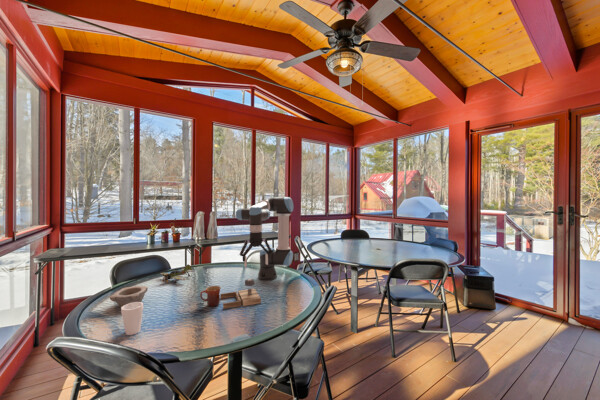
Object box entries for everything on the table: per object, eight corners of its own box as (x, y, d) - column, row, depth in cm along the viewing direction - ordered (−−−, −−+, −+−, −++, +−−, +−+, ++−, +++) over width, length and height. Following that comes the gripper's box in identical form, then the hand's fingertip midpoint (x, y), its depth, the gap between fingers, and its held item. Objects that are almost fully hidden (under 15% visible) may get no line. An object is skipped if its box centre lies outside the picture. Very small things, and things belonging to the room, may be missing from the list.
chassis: (220, 298, 175) (220, 288, 174) (254, 292, 183) (254, 283, 183) (223, 309, 158) (223, 298, 158) (260, 302, 166) (260, 292, 166)
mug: (219, 300, 171) (219, 284, 170) (222, 305, 163) (221, 289, 162) (199, 304, 165) (199, 288, 165) (201, 310, 157) (201, 292, 157)
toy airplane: (204, 278, 215) (203, 266, 215) (175, 288, 194) (174, 274, 194) (180, 272, 232) (180, 261, 231) (151, 281, 211) (151, 268, 210)
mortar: (107, 312, 156) (106, 296, 156) (124, 300, 173) (124, 286, 173) (136, 311, 157) (136, 295, 157) (151, 299, 174) (150, 285, 174)
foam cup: (134, 325, 140) (133, 301, 139) (148, 328, 137) (147, 303, 137) (117, 335, 131) (116, 308, 130) (131, 338, 128) (131, 311, 128)
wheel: (244, 283, 174) (244, 278, 174) (253, 282, 177) (253, 277, 176) (245, 286, 169) (245, 281, 169) (255, 285, 171) (255, 280, 171)
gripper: (236, 233, 158) (237, 269, 159) (276, 231, 169) (277, 264, 169) (234, 232, 165) (234, 266, 166) (273, 229, 175) (273, 261, 176)
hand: (256, 265), depth 167 cm, fingers open, 13 cm apart
